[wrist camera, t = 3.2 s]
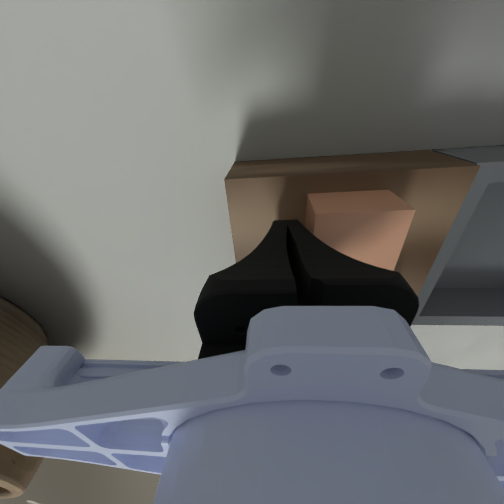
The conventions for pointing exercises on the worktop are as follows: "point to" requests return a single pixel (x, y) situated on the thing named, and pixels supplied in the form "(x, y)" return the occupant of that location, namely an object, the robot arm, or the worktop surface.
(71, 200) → the worktop surface
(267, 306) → the robot arm
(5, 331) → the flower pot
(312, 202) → the terracotta block
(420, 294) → the charcoal tray
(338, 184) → the walnut board
